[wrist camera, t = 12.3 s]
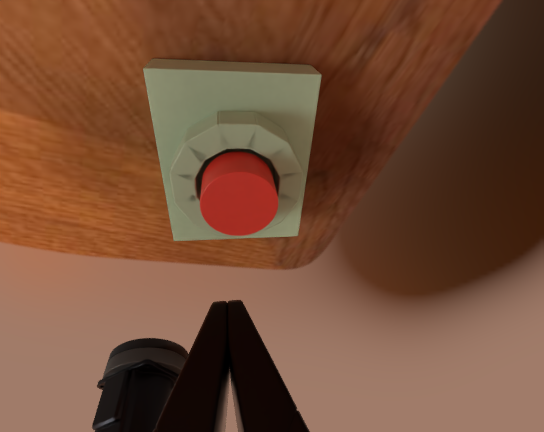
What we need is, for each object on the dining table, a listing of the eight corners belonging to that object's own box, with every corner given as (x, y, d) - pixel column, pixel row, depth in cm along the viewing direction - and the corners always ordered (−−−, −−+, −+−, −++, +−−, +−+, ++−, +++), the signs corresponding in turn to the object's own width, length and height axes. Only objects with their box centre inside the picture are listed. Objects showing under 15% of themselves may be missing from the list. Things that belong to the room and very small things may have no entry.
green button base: (292, 216, 22) (303, 255, 19) (177, 219, 21) (169, 262, 18) (311, 64, 16) (333, 84, 13) (151, 58, 15) (132, 78, 12)
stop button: (270, 210, 17) (275, 234, 15) (204, 212, 16) (202, 237, 15) (275, 151, 15) (281, 171, 13) (198, 150, 14) (196, 172, 13)
